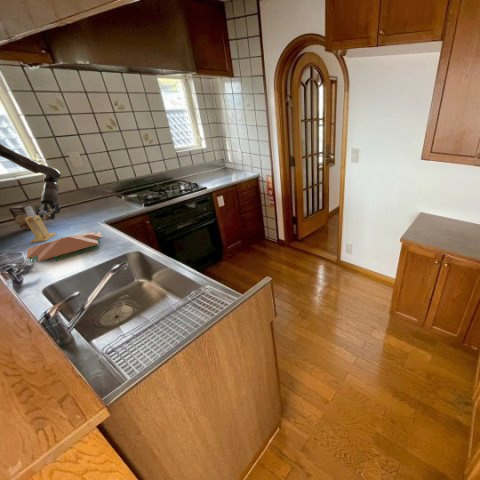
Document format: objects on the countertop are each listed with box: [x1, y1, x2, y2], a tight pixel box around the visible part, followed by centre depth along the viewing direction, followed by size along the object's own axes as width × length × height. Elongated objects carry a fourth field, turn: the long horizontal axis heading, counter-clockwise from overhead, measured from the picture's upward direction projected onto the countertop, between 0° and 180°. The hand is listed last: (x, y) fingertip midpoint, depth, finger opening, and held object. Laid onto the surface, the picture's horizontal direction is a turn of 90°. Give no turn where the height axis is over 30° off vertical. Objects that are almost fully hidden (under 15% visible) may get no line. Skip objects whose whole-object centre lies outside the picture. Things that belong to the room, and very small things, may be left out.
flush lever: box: [29, 214, 52, 222], centre depth 167 cm, size 14×4×4 cm, turn 12°
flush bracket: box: [25, 214, 57, 243], centre depth 164 cm, size 10×8×15 cm
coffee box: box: [8, 204, 37, 231], centre depth 180 cm, size 9×6×16 cm
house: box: [26, 231, 103, 262], centre depth 150 cm, size 23×33×8 cm
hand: (46, 219), depth 171 cm, fingers open, 5 cm apart
